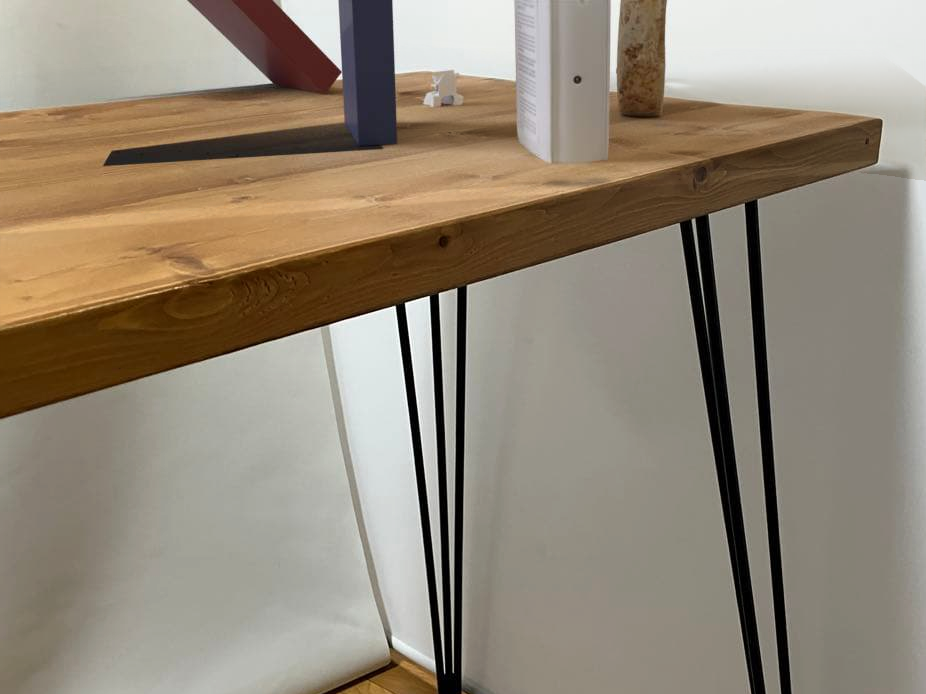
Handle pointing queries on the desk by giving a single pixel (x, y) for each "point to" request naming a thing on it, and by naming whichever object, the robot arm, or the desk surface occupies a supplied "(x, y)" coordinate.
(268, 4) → the burgundy book
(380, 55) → the navy book
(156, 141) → the desk surface
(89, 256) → the desk surface
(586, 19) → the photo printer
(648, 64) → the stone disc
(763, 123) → the desk surface
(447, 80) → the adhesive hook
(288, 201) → the desk surface
